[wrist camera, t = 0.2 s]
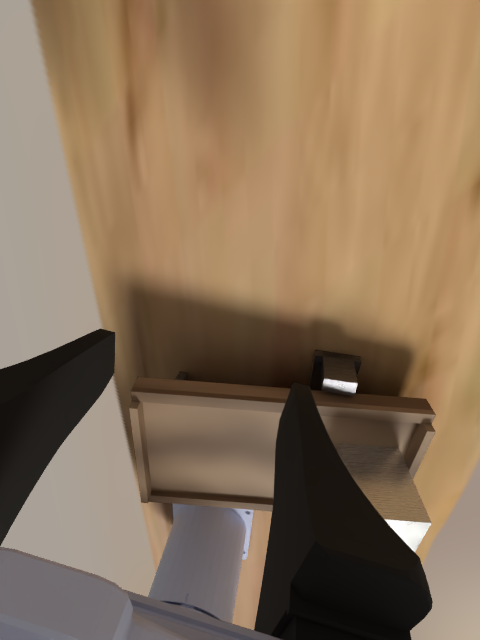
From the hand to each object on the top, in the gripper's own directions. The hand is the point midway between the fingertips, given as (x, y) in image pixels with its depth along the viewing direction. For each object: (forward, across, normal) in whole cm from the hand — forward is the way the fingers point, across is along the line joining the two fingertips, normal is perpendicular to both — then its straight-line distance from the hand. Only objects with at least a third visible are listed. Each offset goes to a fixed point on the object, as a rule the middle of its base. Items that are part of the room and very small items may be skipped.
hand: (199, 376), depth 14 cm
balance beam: (+8, -8, +10) cm, 15 cm away
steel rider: (+7, -11, +10) cm, 17 cm away
